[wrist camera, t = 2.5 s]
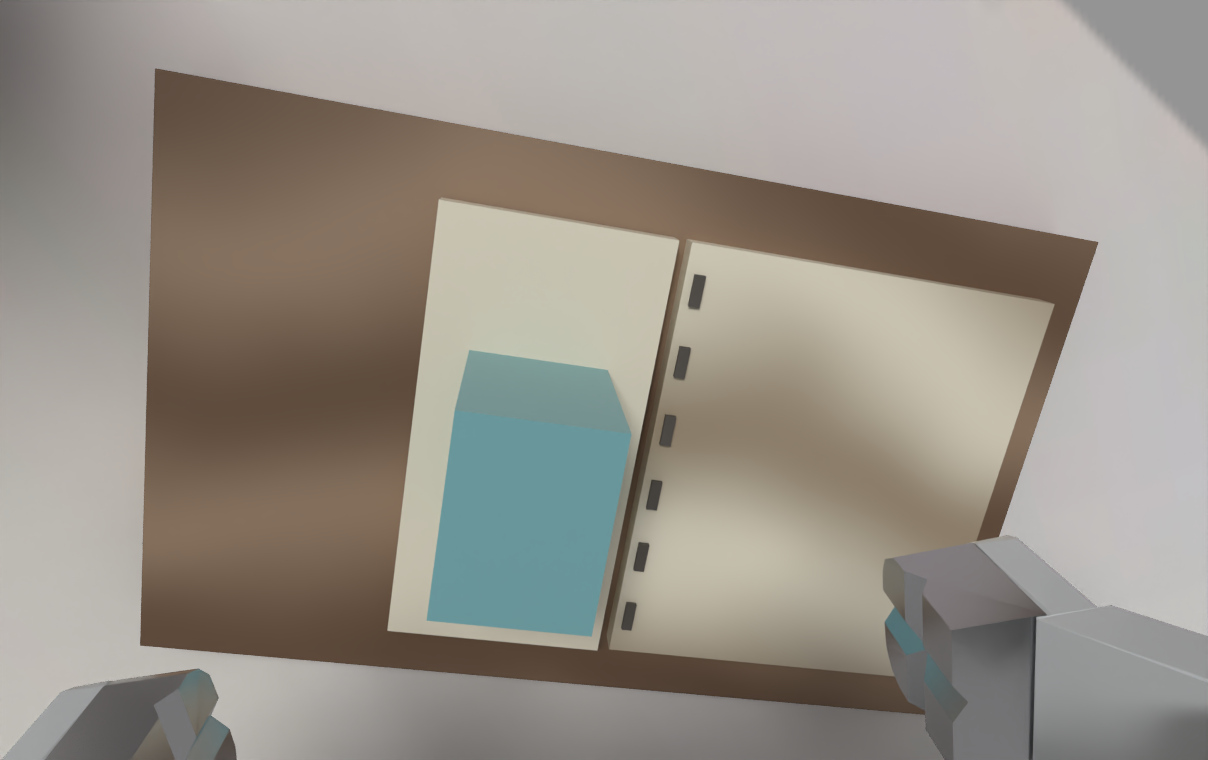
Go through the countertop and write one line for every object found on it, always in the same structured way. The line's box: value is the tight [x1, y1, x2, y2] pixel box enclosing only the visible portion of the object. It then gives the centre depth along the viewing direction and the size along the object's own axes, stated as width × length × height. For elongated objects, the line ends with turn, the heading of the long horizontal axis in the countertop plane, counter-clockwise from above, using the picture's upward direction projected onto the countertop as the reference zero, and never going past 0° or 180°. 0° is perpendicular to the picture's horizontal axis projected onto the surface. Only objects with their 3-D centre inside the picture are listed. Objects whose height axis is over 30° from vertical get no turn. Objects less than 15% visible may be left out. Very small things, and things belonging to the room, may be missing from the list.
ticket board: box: [140, 69, 1098, 715], centre depth 19 cm, size 13×20×2 cm, turn 80°
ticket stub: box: [387, 197, 679, 651], centre depth 16 cm, size 10×5×5 cm, turn 170°
